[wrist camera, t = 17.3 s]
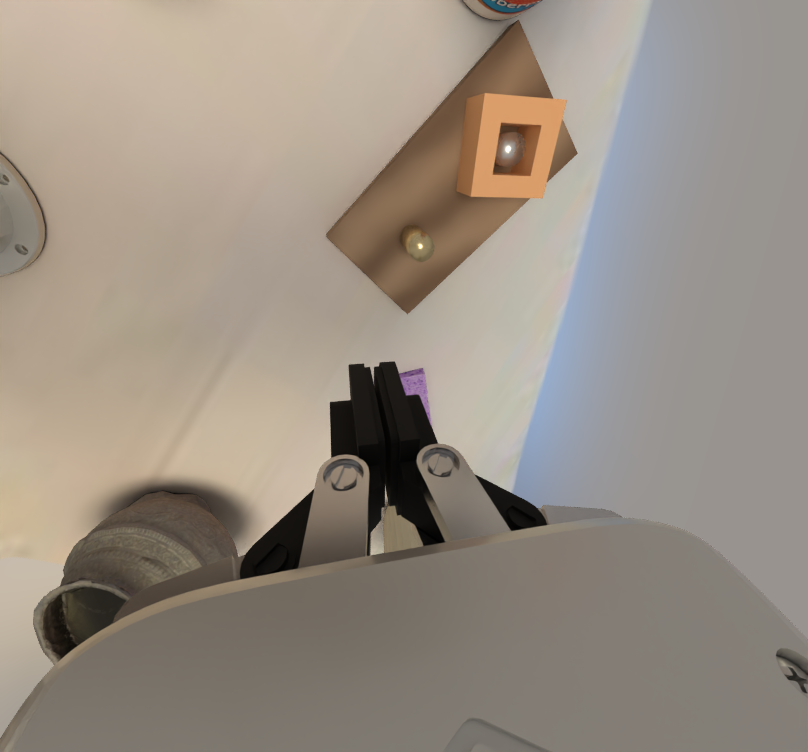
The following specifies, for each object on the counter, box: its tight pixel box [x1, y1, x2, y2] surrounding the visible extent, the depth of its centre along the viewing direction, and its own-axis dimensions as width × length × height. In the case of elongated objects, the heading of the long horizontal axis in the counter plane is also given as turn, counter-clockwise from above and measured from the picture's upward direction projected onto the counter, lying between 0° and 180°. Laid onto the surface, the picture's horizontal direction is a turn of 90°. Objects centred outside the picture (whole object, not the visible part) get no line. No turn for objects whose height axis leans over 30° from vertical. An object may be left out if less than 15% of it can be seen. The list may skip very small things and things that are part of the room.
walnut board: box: [327, 20, 577, 314], centre depth 33 cm, size 12×23×2 cm, turn 132°
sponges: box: [399, 368, 431, 424], centre depth 49 cm, size 7×13×2 cm, turn 9°
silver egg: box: [494, 132, 525, 167], centre depth 30 cm, size 2×2×3 cm
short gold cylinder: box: [400, 225, 435, 262], centre depth 33 cm, size 2×2×4 cm
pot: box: [33, 491, 238, 665], centre depth 43 cm, size 21×21×25 cm
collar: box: [456, 93, 567, 198], centre depth 30 cm, size 7×7×4 cm
